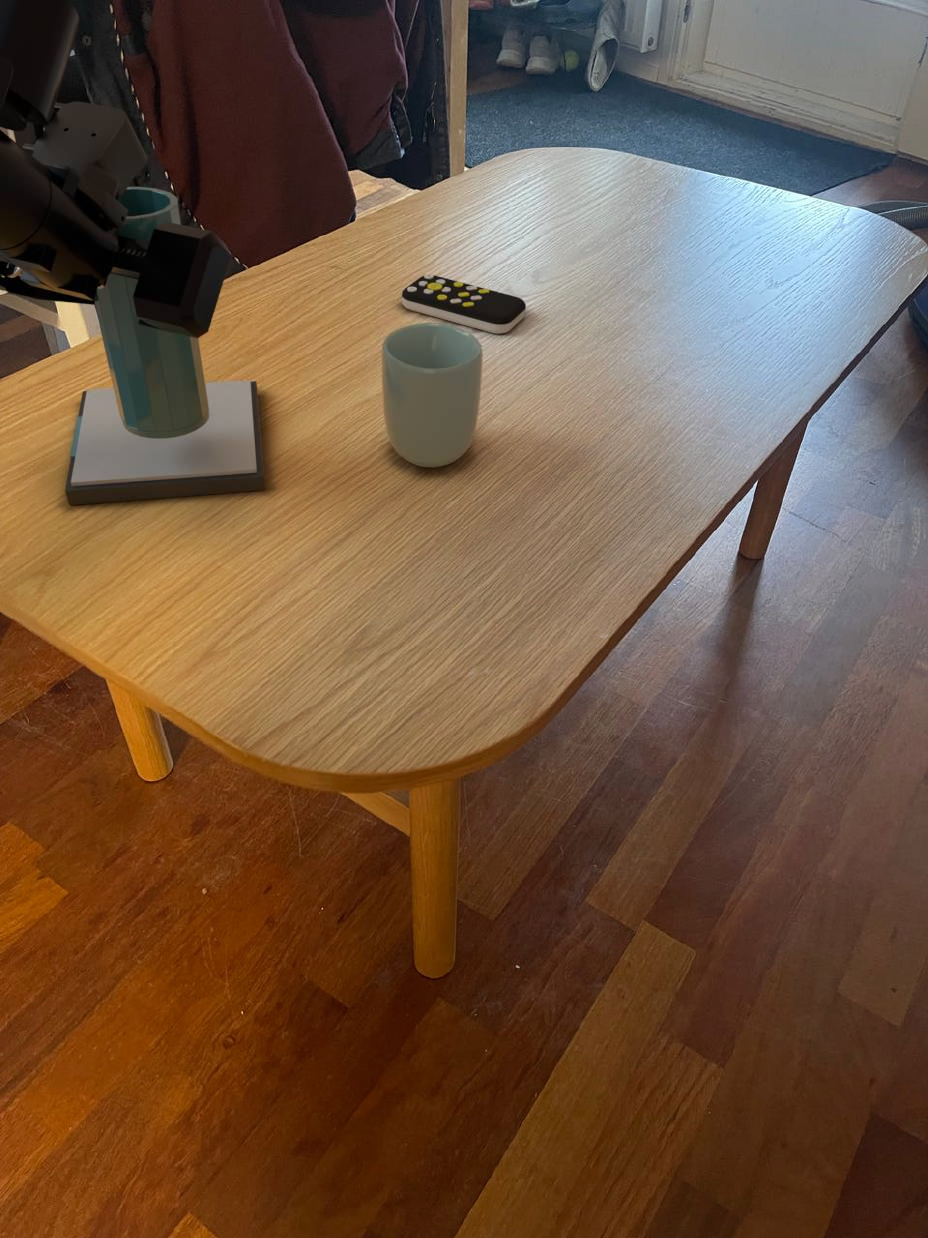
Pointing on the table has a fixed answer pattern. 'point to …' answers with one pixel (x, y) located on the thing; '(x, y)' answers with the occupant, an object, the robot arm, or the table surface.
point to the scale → (167, 451)
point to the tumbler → (149, 341)
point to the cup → (431, 391)
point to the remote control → (464, 303)
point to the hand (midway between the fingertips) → (157, 309)
